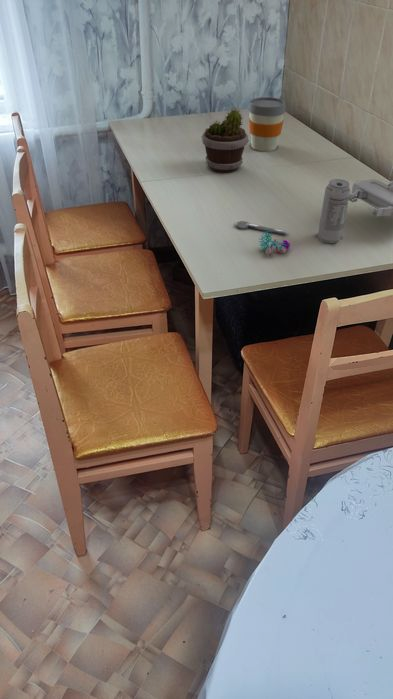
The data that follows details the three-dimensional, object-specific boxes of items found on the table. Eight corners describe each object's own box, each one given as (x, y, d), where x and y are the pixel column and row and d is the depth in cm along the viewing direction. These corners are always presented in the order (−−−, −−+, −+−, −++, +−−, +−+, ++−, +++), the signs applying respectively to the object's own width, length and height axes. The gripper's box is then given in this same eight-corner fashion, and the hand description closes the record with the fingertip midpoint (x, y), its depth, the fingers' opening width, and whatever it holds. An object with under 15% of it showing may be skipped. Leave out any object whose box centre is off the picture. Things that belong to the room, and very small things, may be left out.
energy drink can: (338, 233, 143) (349, 178, 134) (342, 244, 139) (354, 188, 129) (315, 232, 143) (324, 177, 134) (319, 244, 139) (328, 187, 129)
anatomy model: (294, 244, 129) (290, 227, 134) (261, 244, 129) (258, 228, 134) (291, 261, 133) (288, 244, 138) (259, 261, 133) (256, 245, 138)
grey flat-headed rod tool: (287, 231, 144) (288, 228, 143) (284, 237, 141) (284, 234, 141) (239, 222, 148) (239, 218, 147) (234, 227, 145) (234, 224, 145)
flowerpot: (191, 166, 179) (191, 102, 166) (225, 155, 187) (228, 93, 174) (221, 179, 170) (224, 113, 158) (255, 167, 178) (260, 103, 165)
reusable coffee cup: (264, 155, 187) (267, 109, 177) (239, 145, 194) (241, 101, 185) (288, 147, 193) (293, 102, 183) (263, 138, 200) (267, 94, 191)
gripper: (377, 170, 150) (338, 179, 145) (434, 197, 136) (393, 208, 131) (372, 192, 154) (334, 201, 149) (427, 220, 140) (387, 232, 135)
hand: (362, 205), depth 140 cm, fingers open, 8 cm apart
